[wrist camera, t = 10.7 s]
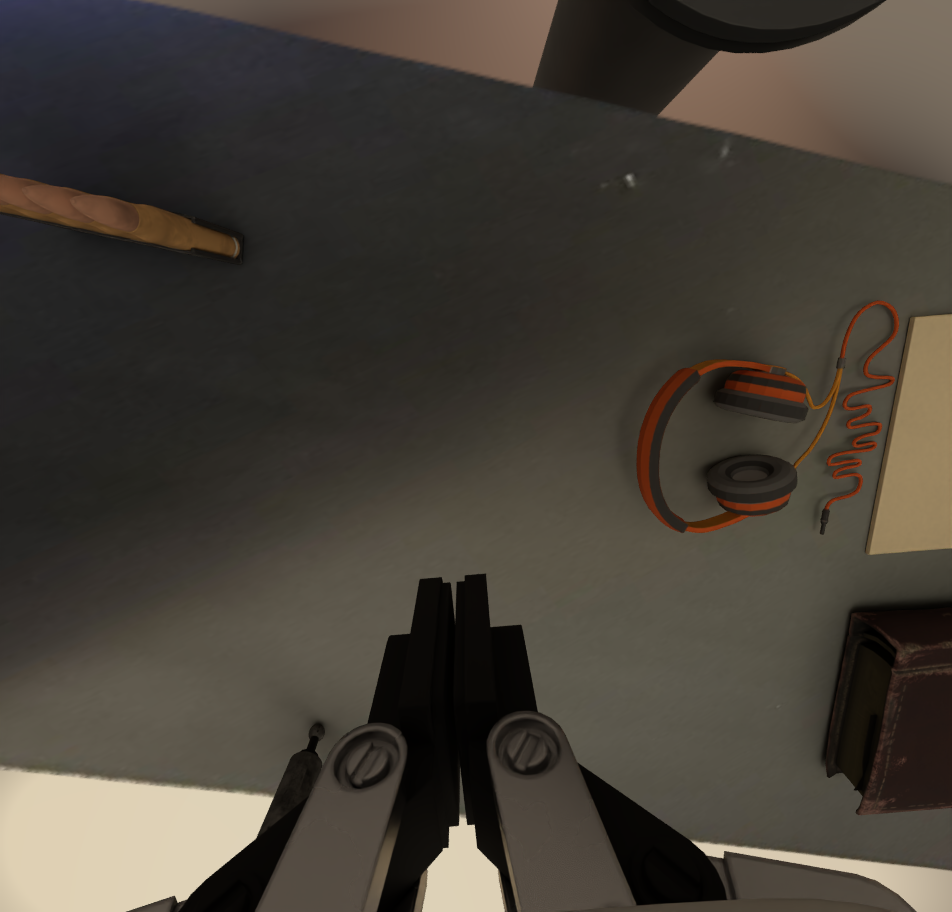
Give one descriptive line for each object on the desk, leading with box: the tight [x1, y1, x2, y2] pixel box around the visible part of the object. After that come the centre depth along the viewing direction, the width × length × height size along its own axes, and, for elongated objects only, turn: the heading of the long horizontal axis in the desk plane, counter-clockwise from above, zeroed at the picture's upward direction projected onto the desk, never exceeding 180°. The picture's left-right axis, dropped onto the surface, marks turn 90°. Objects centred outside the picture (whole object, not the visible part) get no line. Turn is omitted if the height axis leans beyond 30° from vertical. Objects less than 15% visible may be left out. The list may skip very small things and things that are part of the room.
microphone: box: [257, 724, 325, 838], centre depth 31 cm, size 7×7×20 cm
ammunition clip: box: [0, 174, 243, 265], centre depth 23 cm, size 11×2×12 cm, turn 79°
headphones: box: [636, 301, 899, 535], centre depth 31 cm, size 17×5×20 cm
